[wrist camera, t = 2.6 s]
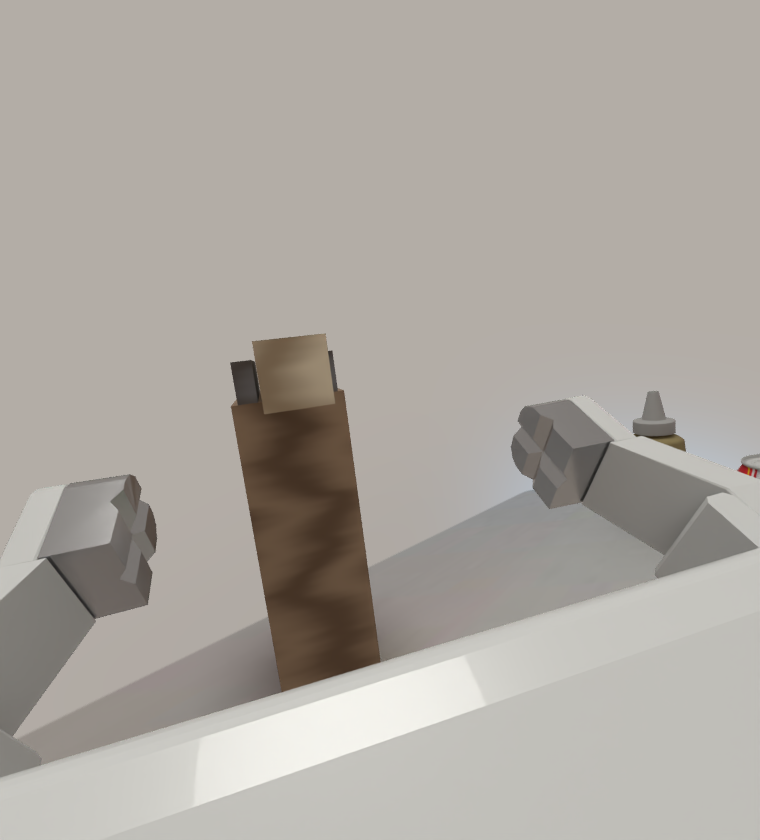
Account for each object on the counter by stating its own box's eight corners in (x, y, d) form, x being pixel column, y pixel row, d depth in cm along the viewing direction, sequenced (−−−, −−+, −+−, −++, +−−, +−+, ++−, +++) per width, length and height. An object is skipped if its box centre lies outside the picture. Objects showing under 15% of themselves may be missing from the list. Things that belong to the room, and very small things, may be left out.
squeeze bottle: (647, 509, 62) (645, 386, 59) (708, 528, 55) (708, 388, 52) (607, 523, 59) (602, 395, 56) (665, 545, 52) (662, 398, 49)
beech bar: (264, 414, 18) (252, 341, 17) (264, 390, 35) (258, 353, 35) (335, 403, 18) (325, 333, 18) (300, 385, 36) (295, 349, 35)
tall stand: (293, 758, 30) (223, 363, 26) (285, 649, 41) (236, 364, 37) (389, 726, 32) (338, 349, 27) (355, 629, 43) (316, 354, 39)
